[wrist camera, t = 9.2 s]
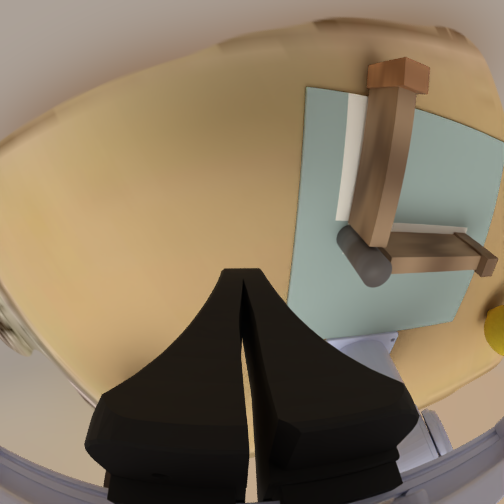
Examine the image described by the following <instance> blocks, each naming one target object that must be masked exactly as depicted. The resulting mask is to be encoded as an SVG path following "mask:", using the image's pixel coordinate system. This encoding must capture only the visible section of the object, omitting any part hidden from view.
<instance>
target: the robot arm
mask: <svg viewBox="0 0 504 504" xmlns="http://www.w3.org/2000/svg"><path fill="white" fill-rule="evenodd" d="M397 337H398V332H397V331H392V332H385V333H377V334H369V335H360V336H351V337H341V338H330V339H326V340H324V339H323V338H321V337H320V336H319V335H317V334H316V333H315V332H314V331H313V330H312V329H310V328H309V327H308V326H307V325H306V324H305V323H304V322H303V321H302V320H301V319H300V318H299V317H298V316H297V315H296V314H295V313H294V312H293V311H292V310H291V309H290V308H289V306H288V305H287V304H286V303H285V302H284V301H283V299H282V298H281V297H280V296H279V295H278V293H277V292H276V291H275V289H274V288H273V287H272V285H271V284H270V282H269V281H268V280H267V278H266V276H265V275H264V273H263V272H262V270H261V269H260V268H234V269H224V270H222V271H221V275H220V277H219V280H218V282H217V284H216V286H215V288H214V289H213V291H212V293H211V294H210V296H209V298H208V299H207V301H206V303H205V304H204V306H203V307H202V308H201V310H200V311H199V313H198V314H197V315H196V317H195V318H194V319H193V321H192V322H191V323H190V324H189V326H188V327H187V328H186V329H185V330H184V331H183V333H182V334H181V335H180V336H179V337H178V338H177V339H176V340H175V341H174V342H173V343H172V344H171V345H170V346H169V347H168V348H167V349H166V350H165V351H164V352H163V353H161V354H160V355H159V356H158V357H157V358H156V359H154V360H153V361H152V362H151V363H149V364H148V365H147V366H145V367H144V368H143V369H142V370H140V371H139V372H138V373H136V374H135V375H134V376H132V377H131V378H129V379H127V380H126V381H124V382H123V383H121V384H119V385H118V386H116V387H114V388H113V389H111V390H109V391H107V392H106V393H104V394H102V396H101V398H100V400H99V402H98V404H97V406H96V408H95V411H94V413H93V416H92V419H91V422H90V426H89V429H88V433H87V436H86V440H85V444H84V445H85V449H86V451H87V452H88V454H89V455H90V456H91V457H92V458H93V459H94V460H95V461H96V462H97V463H98V464H100V465H101V466H102V467H103V468H104V469H106V471H108V472H109V473H110V474H111V476H110V482H109V488H105V487H101V486H97V485H94V484H91V483H87V482H84V481H81V480H78V479H75V478H72V477H69V476H66V475H63V474H61V473H58V472H55V471H53V470H50V469H48V468H45V467H43V466H40V465H38V464H36V463H34V462H31V461H29V460H27V459H25V458H23V457H21V456H19V455H17V454H15V453H13V452H11V451H9V450H7V449H5V448H3V447H1V446H0V504H497V503H498V502H499V501H500V500H501V499H502V498H503V497H504V417H503V418H502V419H501V420H500V421H499V422H498V423H497V424H496V425H495V427H493V428H491V429H490V430H488V431H487V432H485V433H483V434H482V435H480V436H478V437H477V438H475V439H473V440H472V441H470V442H468V443H466V444H465V445H462V446H460V447H459V448H457V449H455V450H453V449H452V446H451V443H450V441H449V438H448V436H447V434H446V431H445V429H444V427H443V425H442V423H441V421H440V420H439V417H438V415H437V414H436V412H435V411H432V410H428V409H425V410H423V411H422V412H421V413H422V415H423V418H424V420H425V423H424V421H423V419H422V417H421V415H420V413H419V410H418V408H417V406H416V405H415V404H414V402H413V399H412V397H411V395H410V393H409V392H408V390H407V388H406V386H405V384H404V382H403V380H402V378H401V376H400V374H399V372H398V370H397V368H396V366H395V364H394V363H393V361H392V359H391V357H390V355H389V354H390V352H391V350H392V348H393V346H394V343H395V341H396V339H397ZM242 339H243V346H244V352H245V358H246V364H247V370H248V376H249V382H250V389H251V397H252V411H253V427H254V443H255V460H256V478H257V497H258V502H255V503H245V493H246V487H247V477H248V465H249V439H248V425H247V416H246V406H245V396H244V386H243V374H242V362H241V348H242ZM425 424H426V425H425ZM426 426H427V428H426ZM427 429H428V430H427ZM428 431H429V432H428ZM438 455H439V456H438Z"/></svg>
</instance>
